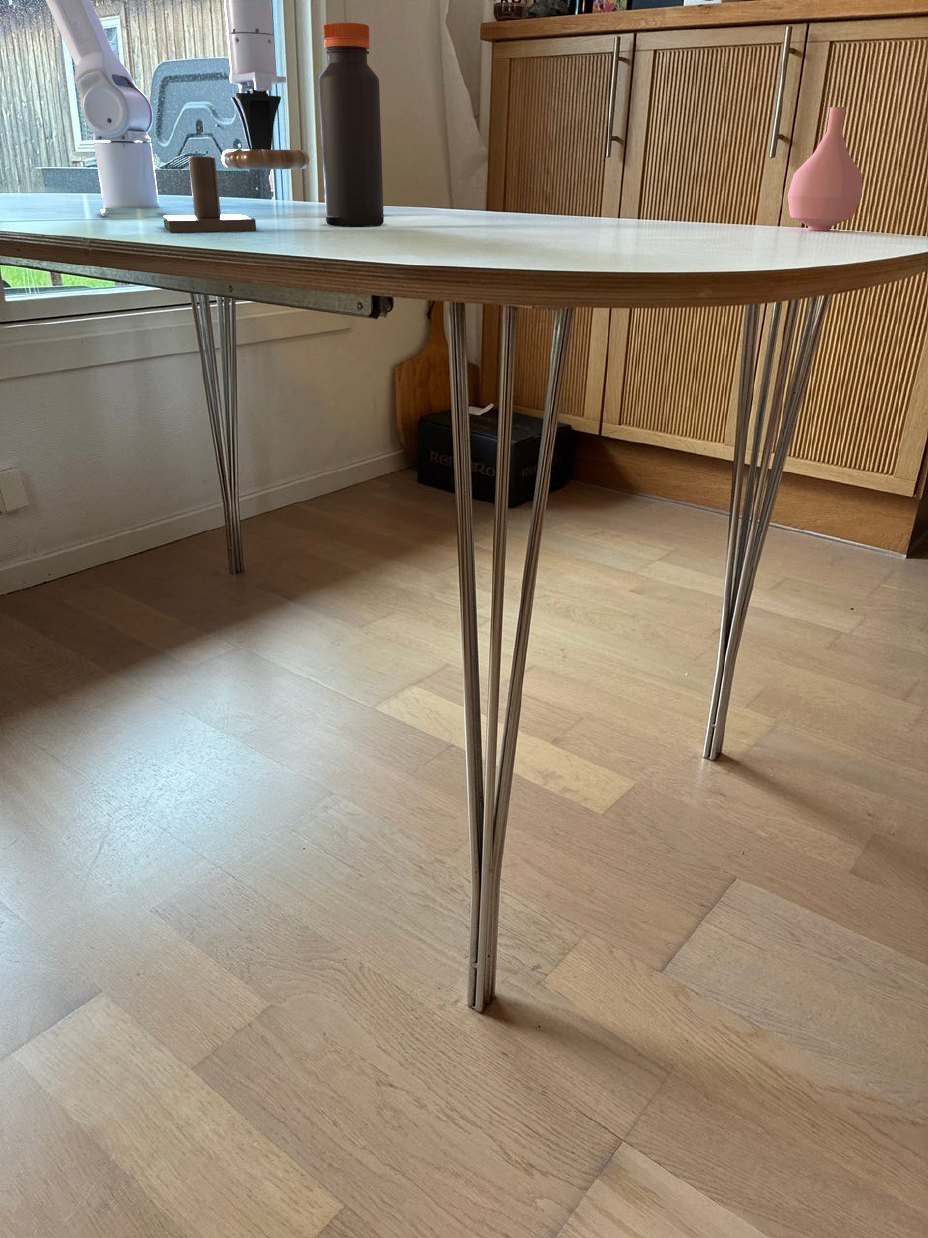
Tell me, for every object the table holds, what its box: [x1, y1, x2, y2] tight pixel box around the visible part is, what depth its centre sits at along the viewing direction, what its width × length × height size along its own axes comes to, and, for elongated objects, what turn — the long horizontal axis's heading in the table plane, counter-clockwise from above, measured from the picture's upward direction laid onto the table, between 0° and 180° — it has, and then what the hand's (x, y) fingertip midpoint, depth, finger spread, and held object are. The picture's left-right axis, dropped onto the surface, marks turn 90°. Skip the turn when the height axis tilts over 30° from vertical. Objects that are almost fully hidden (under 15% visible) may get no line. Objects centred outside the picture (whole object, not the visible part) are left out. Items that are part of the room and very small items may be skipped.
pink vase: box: [787, 106, 863, 232], centre depth 102 cm, size 8×8×12 cm
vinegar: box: [317, 22, 385, 228], centre depth 106 cm, size 7×7×20 cm
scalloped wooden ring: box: [221, 148, 310, 170], centre depth 121 cm, size 11×11×2 cm
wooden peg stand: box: [162, 156, 257, 234], centre depth 102 cm, size 9×9×7 cm
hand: (260, 156), depth 124 cm, fingers closed on scalloped wooden ring, 2 cm apart
